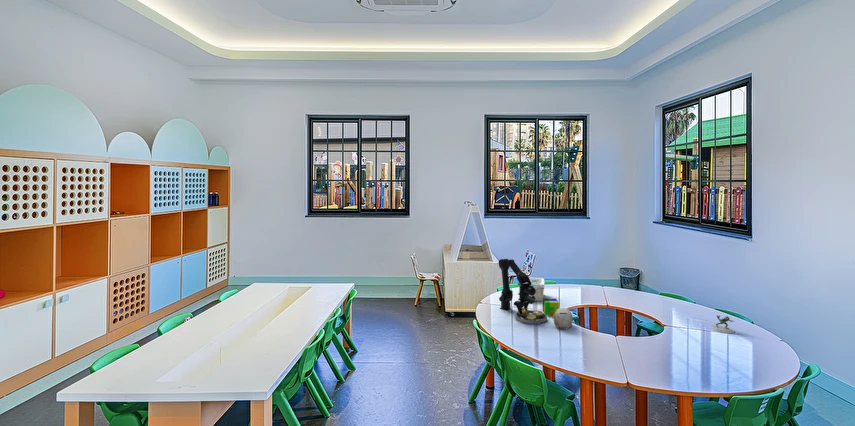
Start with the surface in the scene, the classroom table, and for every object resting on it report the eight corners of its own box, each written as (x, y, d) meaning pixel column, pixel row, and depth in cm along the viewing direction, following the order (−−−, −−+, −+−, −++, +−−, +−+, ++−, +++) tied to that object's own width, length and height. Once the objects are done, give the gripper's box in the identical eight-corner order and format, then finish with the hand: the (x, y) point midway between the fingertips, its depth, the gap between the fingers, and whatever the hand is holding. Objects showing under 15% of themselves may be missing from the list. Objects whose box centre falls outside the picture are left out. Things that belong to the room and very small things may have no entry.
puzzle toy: (555, 311, 299) (556, 298, 298) (558, 315, 289) (559, 302, 288) (542, 311, 300) (542, 298, 299) (545, 315, 290) (545, 302, 289)
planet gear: (516, 314, 286) (516, 309, 286) (521, 311, 292) (521, 307, 292) (525, 316, 281) (525, 311, 281) (530, 313, 287) (530, 309, 287)
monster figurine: (724, 334, 251) (725, 318, 250) (707, 327, 262) (707, 313, 261) (738, 332, 254) (739, 317, 253) (720, 325, 265) (721, 311, 265)
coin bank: (564, 319, 280) (565, 302, 277) (580, 330, 264) (581, 312, 261) (545, 323, 275) (546, 305, 273) (560, 334, 259) (561, 316, 256)
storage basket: (525, 292, 350) (525, 276, 349) (544, 294, 345) (544, 277, 344) (524, 300, 327) (524, 283, 326) (544, 302, 322) (544, 284, 321)
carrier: (509, 319, 282) (509, 313, 281) (524, 311, 298) (524, 305, 298) (538, 326, 267) (538, 319, 267) (551, 318, 284) (551, 311, 284)
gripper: (527, 297, 273) (527, 318, 274) (539, 291, 287) (539, 311, 288) (513, 294, 280) (513, 315, 282) (525, 288, 294) (525, 308, 296)
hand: (523, 312), depth 287 cm, fingers closed on planet gear, 7 cm apart
